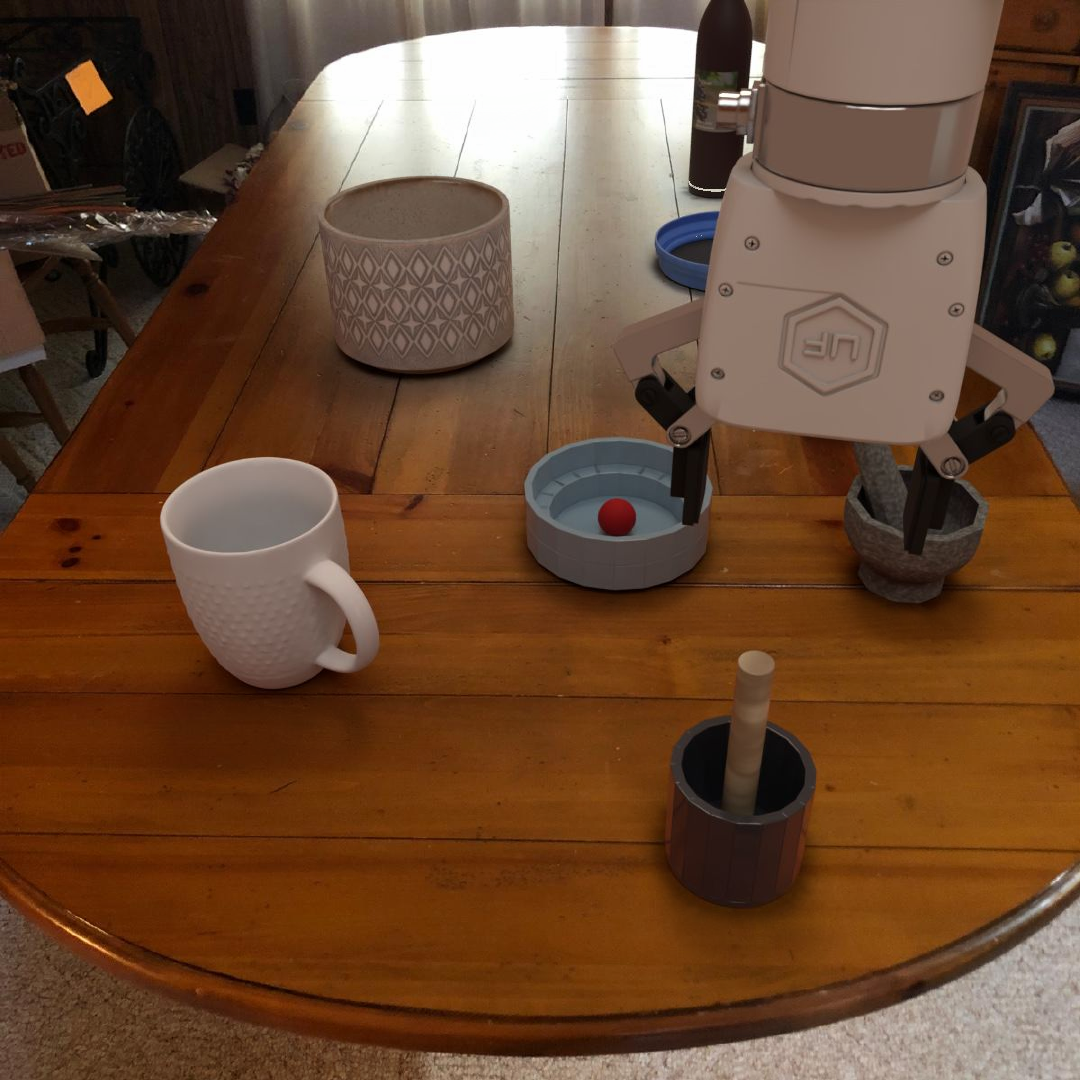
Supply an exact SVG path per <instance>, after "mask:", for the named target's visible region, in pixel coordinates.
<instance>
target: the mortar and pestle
mask: <svg viewBox="0 0 1080 1080" xmlns="http://www.w3.org/2000/svg"><path fill="white" fill-rule="evenodd" d="M850 443H851V446H852V450H853V451H852V452H853V455H854V458H855V462H856V465H857V466H856V467H857V470H858V473H859V474H857V475H855V477H854V479H853V481H852V483H851V486H850V487H849V490H848V492H847V494H846V496H845V502H844V508H843V530H844V533H845V535H846V538H847V539H848V542H849V543H850V545H851V547H852V549H853V550H854V552H855V553H856V555H857V556H858V557H859V559H860V560H861V562H860V564H859V567H858V571H857V576H858V577H859V578H860V580H861V582H862V583H863V584H864V586H865V587H866V590H868V591H869V592H871V593H873V594H875V595H877V596H880V597H882V598H884V599H886V600H888V601H890V602H893V603H909V604H922V603H924V602H926V601H929V600H931V599H933V598H936V597H938V596H940V595H941V592H942V589H943V586H944V583H945V579H946V577H947V576H949V575H953V574H955V573H957V572H959V571H961V569H962V568H964V567H965V566H966V565H968V564H969V563H970V562H971V561H972V559H973V558H974V555H975V553H976V552H977V550H978V548H979V546H980V543H981V540H982V536H983V532H984V528H985V525H986V521H987V517H988V513H989V509H990V503H989V502H988V501H987V500H986V499H985V498H984V496H982V495H981V493H980V492H979V491H978V490H977V489H976V488H975V487H974V486H973V484H971V482H970V481H968V480H966V479H963V478H962V477H960V478H958V479H955V481H954V485H953V489H952V493H951V497H950V501H949V505H948V509H947V512H946V516H945V520H944V524H943V528H942V530H936V529H928V531H927V535H926V539H925V544H924V548H923V552H922V555H921V556H920V555H912V554H908V551H906V550H904V535H903V511H904V507H905V502H906V498H907V493H908V489H909V485H910V480H911V476H912V471H913V467H914V465H905V464H897V462H896V459H895V457H894V454H893V452H892V450H891V447H890V445H886V444H875V443H865V442H856V441H850Z"/></svg>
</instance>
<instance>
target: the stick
mask: <svg viewBox="0 0 1080 1080" xmlns="http://www.w3.org/2000/svg"><path fill="white" fill-rule="evenodd" d="M775 670H776V663H775V660H774V658H773V657H772V656H771V655H769V654H768V653H766V652H764V651H761V650H756V649H755V650H747V651H745V652H743V653H742V654H740V655H739V657H738V659H737V665H736V672H735V683H734V691H733V700H732V706H731V708H732V709H731V715H732V716H731V725H730V734H729V742H728V751H727V760H726V768H725V777H724V786H723V795H722V803H721V810H723V811H727V812H730V813H733V814H736V815H754V810H755V803H756V796H757V789H758V782H759V775H760V768H761V761H762V754H763V747H764V740H765V733H766V726H767V721H768V717H769V712H770V703H771V697H772V689H773V684H774V676H775Z"/></svg>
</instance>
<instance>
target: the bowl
mask: <svg viewBox="0 0 1080 1080" xmlns="http://www.w3.org/2000/svg"><path fill="white" fill-rule="evenodd" d="M719 212H720V210H712V211H702V212H695V213H691V214H687V215H683V216H680V217H676V218H675V219H672V220H670V221H668V222H666V223H665V224H663V225H662V226H660V227H659V228H658V229H657V231H656V233H655V235H654V242H653V244H654V248H655V253H656V256H657V258H658V266H659V268H660V270H661V271H662V273H663V274H664V275H665V276H666V277H668V278H669V279H671V281H674V282H675V283H678V284H680V285H683V286H685V287H688V288H692V289H696V290H699V291H705V290H706V283H707V277H708V270H709V263H710V257H711V250H712V245H713V240H714V235H715V230H716V225H717V220H718V216H719ZM701 235H702V236H701ZM696 236H697V237H696Z"/></svg>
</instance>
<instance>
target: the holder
mask: <svg viewBox="0 0 1080 1080" xmlns="http://www.w3.org/2000/svg"><path fill="white" fill-rule="evenodd" d="M731 716H732V714H725V715H724V714H723V715H719V716H715V717H711V718H706V719H703V720H701V721H700V722H698V723H696V724H695V725H693V726H691V727H689V728H688V729H686V730H685V731H684V732H683V733H682V734H681V736H680V737H679V738H678V740H677V741H676V743H675V744H674V745H673V746H672V752H671V757H670V762H669V773H668V786H667V787H668V788H667V803H666V815H665V816H666V817H665V818H666V819H665V829H664V830H665V831H664V848H665V850H664V851H665V857H666V860H667V863H668V866H669V868H670V869H671V871H672V873H673V874H674V876H675V877H676V879H677V880H678V881H679V882H680V883H681V884H682V885H683V886H684V887H685V888H686V889H687V890H688V891H689V892H691V893H692V894H694V895H696V896H697V897H699V898H700V899H703V900H705V901H707V902H709V903H712V904H715V905H719V906H723V907H728V908H734V909H735V908H737V909H746V908H754V907H758V906H759V907H760V906H763V905H766V904H769V903H771V902H773V901H775V900H777V899H778V898H781V896H783V895H784V894H785V893H787V891H789V889H790V888H791V887H792V886H793V885H794V883H795V881H796V880H797V878H798V875H799V872H800V869H801V867H802V863H803V857H804V853H805V852H804V851H805V847H806V843H807V836H808V831H809V826H810V820H811V816H812V809H813V804H814V799H815V793H816V789H817V774H818V771H817V767H816V765H815V762H814V760H813V757H812V755H811V752H810V751H809V749H808V748H807V747H806V746H805V745H804V743H803V742H801V741H800V739H799V738H797V736H796V734H795V735H794V734H793V733H792V732H791V731H788V730H787V729H785V728H784V727H782V726H780V725H778V724H777V723H775V722H772V721H769V720H767V726H766V733H765V740H764V747H763V754H762V761H761V768H760V775H759V782H758V789H757V796H756V803H755V810H754V815H736V814H733V813H730V812H727V811H723V810H721V803H722V795H723V786H724V777H725V768H726V760H727V751H728V742H729V734H730V725H731Z"/></svg>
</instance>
